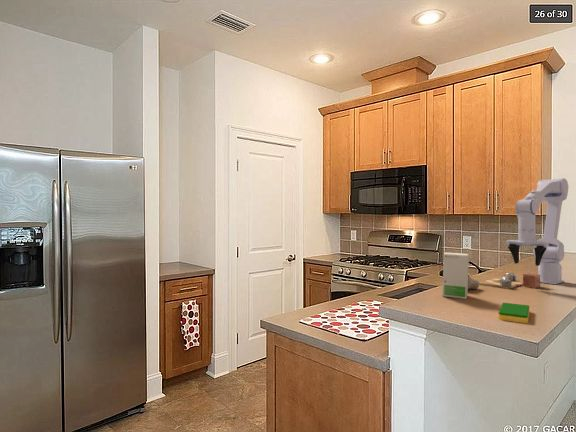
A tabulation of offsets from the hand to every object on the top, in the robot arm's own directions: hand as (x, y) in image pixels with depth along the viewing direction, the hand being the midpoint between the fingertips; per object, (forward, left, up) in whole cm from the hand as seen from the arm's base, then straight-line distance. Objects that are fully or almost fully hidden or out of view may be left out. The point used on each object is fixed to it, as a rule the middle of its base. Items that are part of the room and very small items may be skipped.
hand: (526, 264), depth 150 cm
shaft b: (+5, -6, -10) cm, 12 cm away
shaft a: (-7, -10, -10) cm, 15 cm away
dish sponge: (+44, +14, -10) cm, 47 cm away
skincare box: (+34, -10, -10) cm, 37 cm away
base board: (-1, -10, -10) cm, 14 cm away
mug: (+20, -14, -10) cm, 26 cm away
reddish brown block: (-5, 0, -10) cm, 11 cm away
